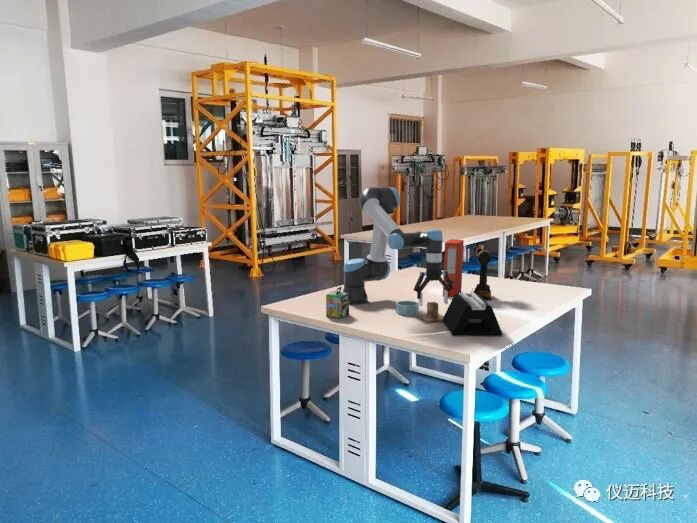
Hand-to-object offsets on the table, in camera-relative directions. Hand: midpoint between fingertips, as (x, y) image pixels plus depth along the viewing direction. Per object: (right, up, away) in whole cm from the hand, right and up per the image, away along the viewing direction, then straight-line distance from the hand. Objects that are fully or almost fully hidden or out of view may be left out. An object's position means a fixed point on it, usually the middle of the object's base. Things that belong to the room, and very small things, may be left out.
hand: (433, 304), depth 276 cm
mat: (0, -8, +2) cm, 8 cm away
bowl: (-11, -6, +14) cm, 19 cm away
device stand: (+15, -10, -14) cm, 23 cm away
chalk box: (-47, -7, +10) cm, 48 cm away
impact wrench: (+37, 0, +54) cm, 66 cm away
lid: (0, -7, +1) cm, 7 cm away
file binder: (+20, +1, +59) cm, 62 cm away
